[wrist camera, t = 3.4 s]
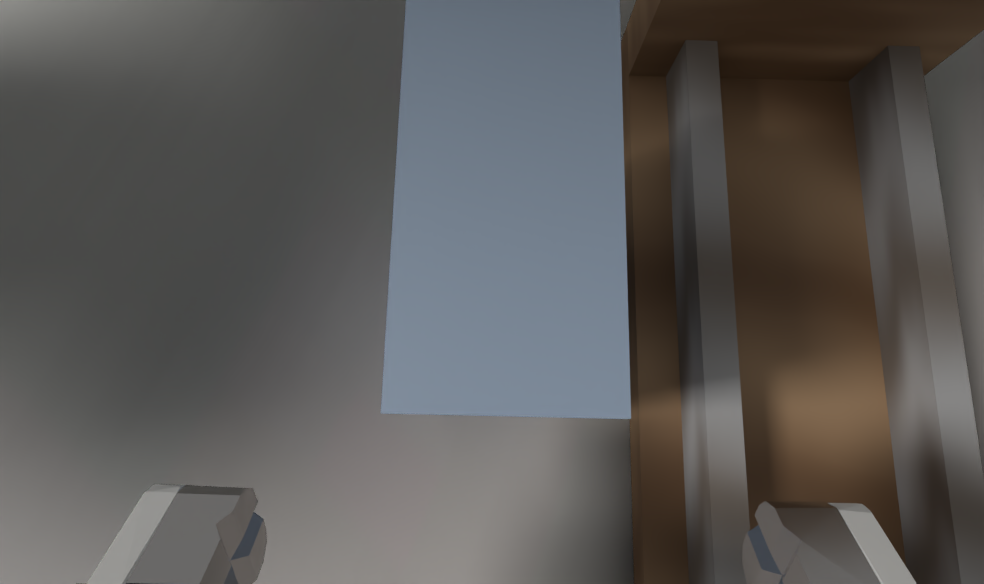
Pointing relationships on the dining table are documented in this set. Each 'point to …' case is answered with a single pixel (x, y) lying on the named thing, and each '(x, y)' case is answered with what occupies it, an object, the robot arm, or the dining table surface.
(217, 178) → the dining table surface
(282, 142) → the dining table surface
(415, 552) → the dining table surface
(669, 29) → the brown wooden holder
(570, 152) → the pale blue rectangular block
